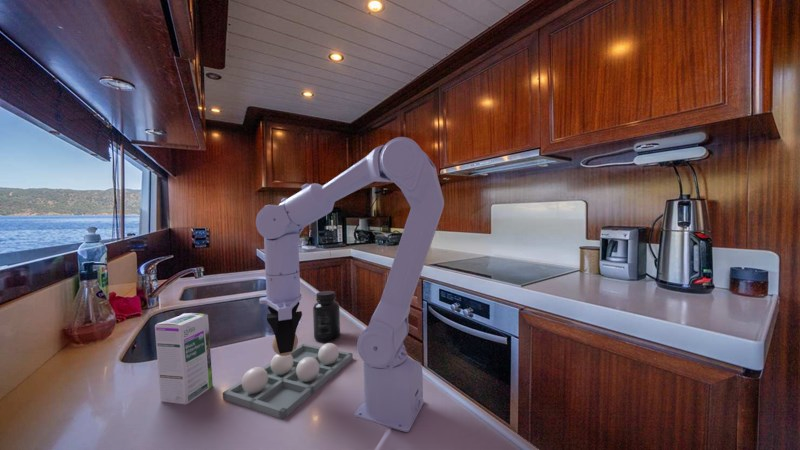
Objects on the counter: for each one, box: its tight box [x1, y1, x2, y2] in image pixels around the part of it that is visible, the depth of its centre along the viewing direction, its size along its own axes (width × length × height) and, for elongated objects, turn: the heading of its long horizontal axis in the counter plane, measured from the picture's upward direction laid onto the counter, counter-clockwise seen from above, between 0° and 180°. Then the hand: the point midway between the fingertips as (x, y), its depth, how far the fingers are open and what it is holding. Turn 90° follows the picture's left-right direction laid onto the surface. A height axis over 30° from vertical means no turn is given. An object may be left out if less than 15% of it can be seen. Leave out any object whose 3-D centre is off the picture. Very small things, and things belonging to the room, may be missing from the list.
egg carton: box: [222, 342, 354, 420], centre depth 59 cm, size 14×21×5 cm
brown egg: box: [271, 333, 299, 356], centre depth 54 cm, size 4×4×4 cm
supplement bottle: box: [312, 290, 341, 343], centre depth 78 cm, size 7×7×12 cm
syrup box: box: [154, 312, 214, 405], centre depth 54 cm, size 6×6×14 cm
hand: (285, 345), depth 54 cm, fingers closed on brown egg, 4 cm apart
